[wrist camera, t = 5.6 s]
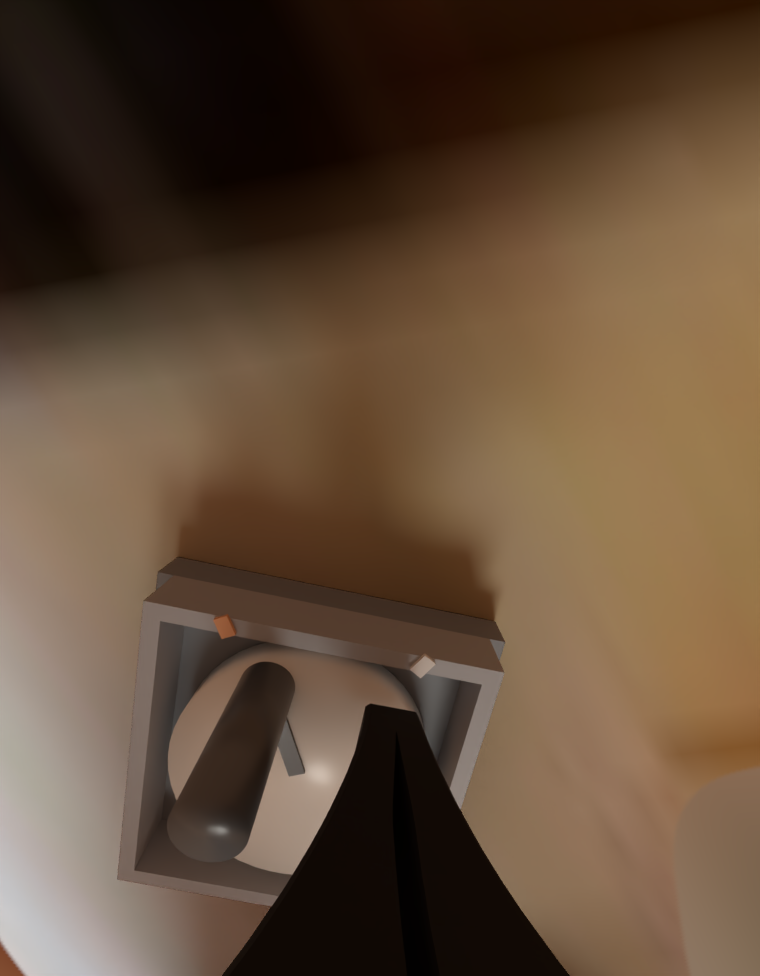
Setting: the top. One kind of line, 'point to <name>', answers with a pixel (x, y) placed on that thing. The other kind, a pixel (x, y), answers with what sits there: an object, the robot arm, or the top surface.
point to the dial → (269, 752)
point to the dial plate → (300, 624)
